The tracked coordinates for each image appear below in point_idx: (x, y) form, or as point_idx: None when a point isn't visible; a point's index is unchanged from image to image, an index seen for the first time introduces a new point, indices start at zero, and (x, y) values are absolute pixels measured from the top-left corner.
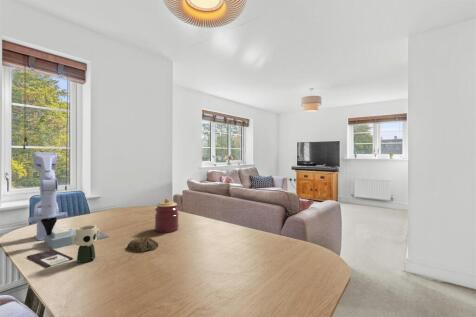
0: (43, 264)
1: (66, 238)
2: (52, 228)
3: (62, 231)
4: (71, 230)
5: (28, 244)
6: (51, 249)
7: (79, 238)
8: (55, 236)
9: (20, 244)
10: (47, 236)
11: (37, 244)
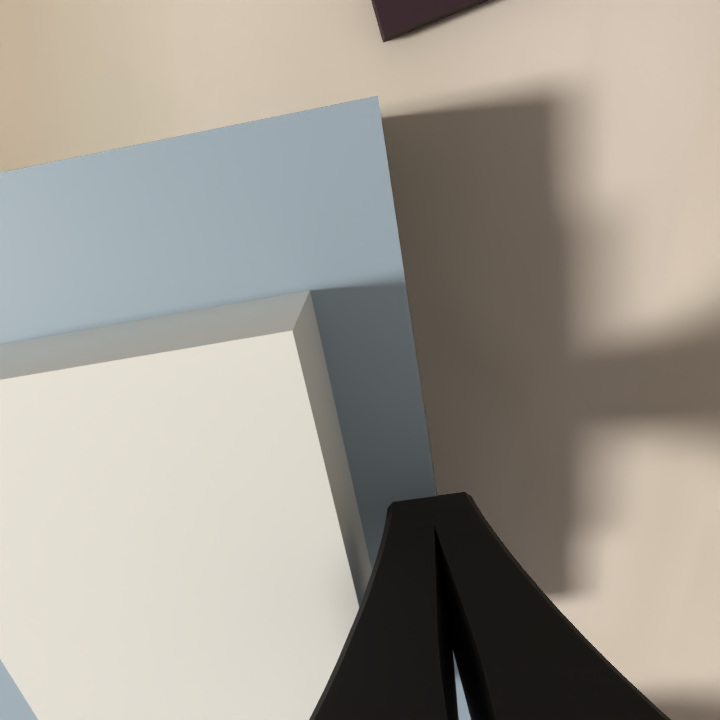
0: None
1: (43, 168)
2: (356, 643)
3: (86, 475)
4: (12, 690)
5: (632, 626)
6: (400, 17)
7: None
8: (294, 307)
9: (704, 677)
10: None
11: (540, 560)
